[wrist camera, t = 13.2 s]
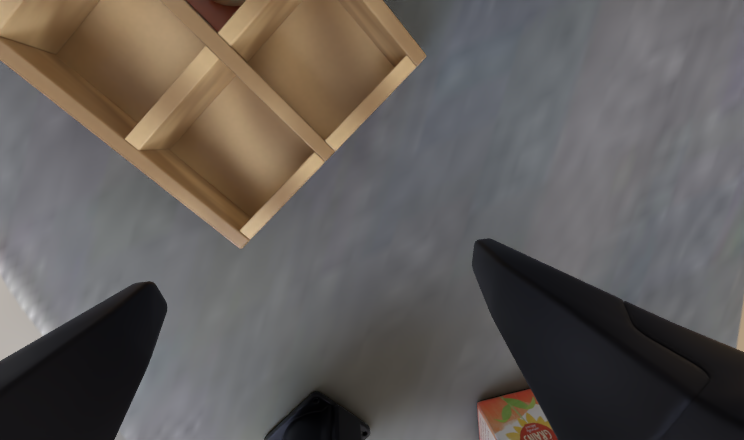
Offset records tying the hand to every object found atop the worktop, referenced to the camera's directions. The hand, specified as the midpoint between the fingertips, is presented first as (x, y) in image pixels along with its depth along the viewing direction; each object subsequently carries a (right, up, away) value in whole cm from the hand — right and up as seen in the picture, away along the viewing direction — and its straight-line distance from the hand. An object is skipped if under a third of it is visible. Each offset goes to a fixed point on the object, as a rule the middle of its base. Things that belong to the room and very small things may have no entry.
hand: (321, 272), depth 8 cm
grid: (-6, +11, +9) cm, 15 cm away
